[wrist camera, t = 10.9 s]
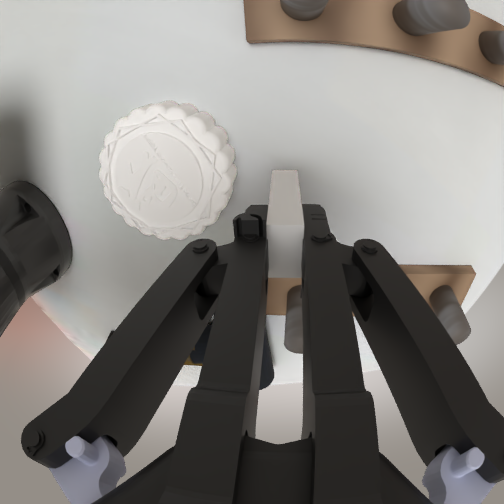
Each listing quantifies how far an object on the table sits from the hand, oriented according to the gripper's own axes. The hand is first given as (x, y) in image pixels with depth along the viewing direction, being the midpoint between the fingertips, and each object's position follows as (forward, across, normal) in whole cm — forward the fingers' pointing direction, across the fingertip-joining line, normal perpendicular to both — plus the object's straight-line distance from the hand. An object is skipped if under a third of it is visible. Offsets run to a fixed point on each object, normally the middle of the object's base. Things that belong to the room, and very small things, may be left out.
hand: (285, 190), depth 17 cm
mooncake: (+7, -10, 0) cm, 12 cm away
